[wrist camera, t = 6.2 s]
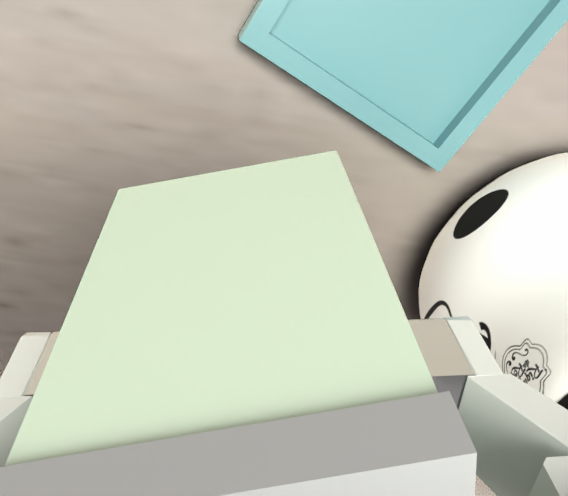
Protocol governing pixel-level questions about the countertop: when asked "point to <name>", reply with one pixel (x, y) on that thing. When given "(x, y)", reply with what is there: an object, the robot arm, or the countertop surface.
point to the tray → (407, 59)
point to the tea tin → (239, 353)
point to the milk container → (510, 272)
